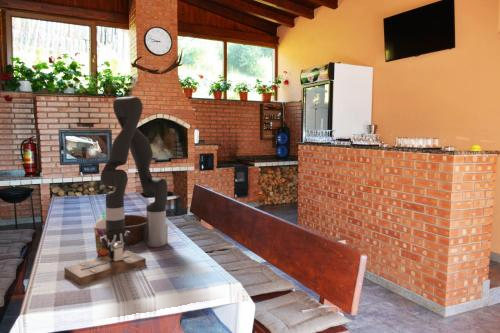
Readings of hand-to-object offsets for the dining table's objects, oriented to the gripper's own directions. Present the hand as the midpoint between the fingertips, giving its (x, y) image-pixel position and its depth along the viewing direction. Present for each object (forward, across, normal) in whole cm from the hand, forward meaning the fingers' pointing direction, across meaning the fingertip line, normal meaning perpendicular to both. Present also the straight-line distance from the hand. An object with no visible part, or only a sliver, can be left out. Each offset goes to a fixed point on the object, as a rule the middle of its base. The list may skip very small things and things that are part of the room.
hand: (116, 257), depth 162 cm
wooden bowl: (+5, -22, -30) cm, 37 cm away
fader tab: (+1, 0, 0) cm, 1 cm away
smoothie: (+4, -4, -17) cm, 18 cm away
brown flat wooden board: (+4, +4, 0) cm, 6 cm away
